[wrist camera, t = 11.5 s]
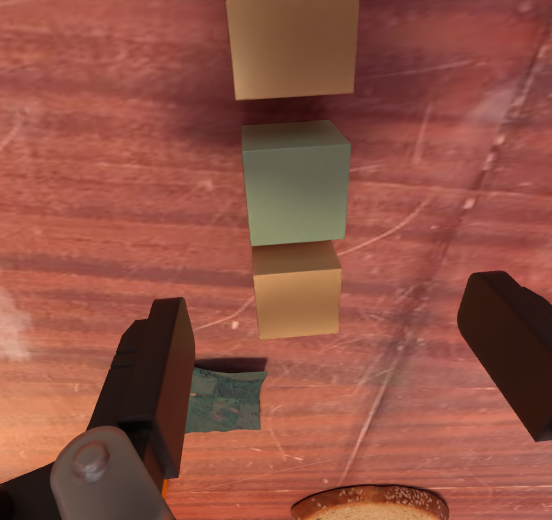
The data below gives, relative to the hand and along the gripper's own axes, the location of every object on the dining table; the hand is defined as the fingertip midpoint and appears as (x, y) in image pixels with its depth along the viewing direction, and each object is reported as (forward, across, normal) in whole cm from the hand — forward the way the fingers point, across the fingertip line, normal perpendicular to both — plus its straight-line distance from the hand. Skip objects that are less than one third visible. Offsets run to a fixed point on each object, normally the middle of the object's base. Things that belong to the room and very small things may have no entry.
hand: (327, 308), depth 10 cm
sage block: (+14, 0, +1) cm, 14 cm away
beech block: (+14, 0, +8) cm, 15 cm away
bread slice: (+13, -10, +48) cm, 51 cm away
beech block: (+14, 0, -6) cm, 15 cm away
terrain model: (+14, +9, +20) cm, 26 cm away
